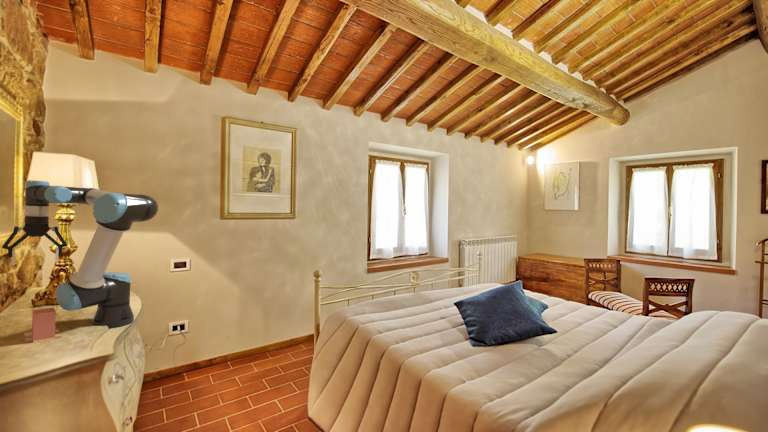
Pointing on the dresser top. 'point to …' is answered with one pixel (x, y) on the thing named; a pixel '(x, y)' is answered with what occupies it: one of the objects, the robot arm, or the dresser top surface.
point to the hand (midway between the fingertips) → (35, 263)
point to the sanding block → (43, 324)
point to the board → (29, 340)
